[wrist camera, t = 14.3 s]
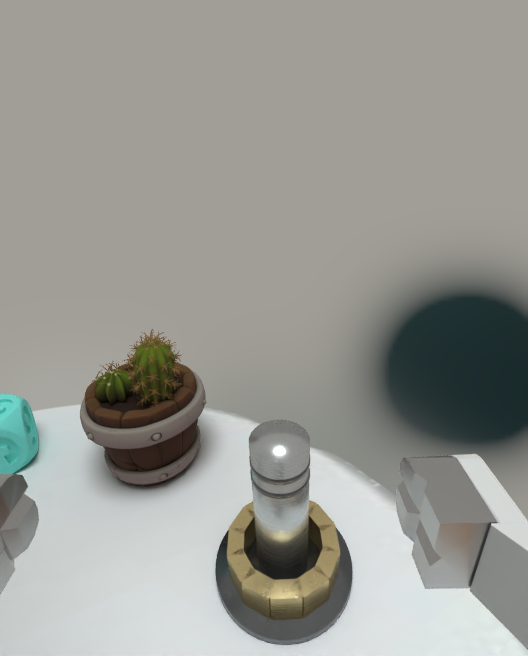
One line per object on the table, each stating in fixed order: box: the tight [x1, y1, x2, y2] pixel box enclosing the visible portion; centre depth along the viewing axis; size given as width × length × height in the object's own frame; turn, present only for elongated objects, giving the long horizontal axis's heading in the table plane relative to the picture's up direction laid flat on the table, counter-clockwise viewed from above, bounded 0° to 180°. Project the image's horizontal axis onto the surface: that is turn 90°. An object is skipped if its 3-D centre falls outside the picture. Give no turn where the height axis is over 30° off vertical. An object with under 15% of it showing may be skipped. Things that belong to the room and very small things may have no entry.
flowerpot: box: [80, 331, 206, 486], centre depth 46 cm, size 14×15×20 cm
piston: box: [249, 420, 310, 580], centre depth 33 cm, size 5×5×15 cm
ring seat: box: [216, 500, 352, 645], centre depth 36 cm, size 13×13×4 cm
